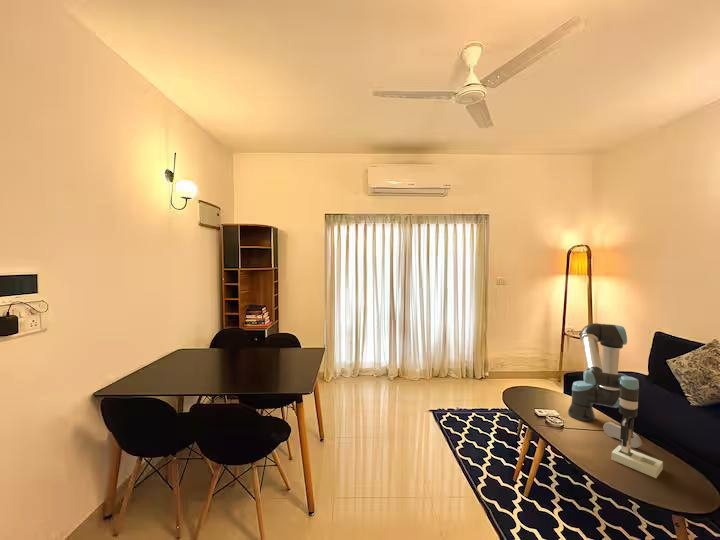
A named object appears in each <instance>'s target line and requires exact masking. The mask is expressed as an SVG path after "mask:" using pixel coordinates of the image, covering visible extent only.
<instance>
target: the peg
mask: <svg viewBox="0 0 720 540" xmlns="http://www.w3.org/2000/svg"><path fill="white" fill-rule="evenodd" d="M628 441H629V445H628V453H625V452H623V451H621V453H622V454H625V455H627V456H630V449H631V450H632V447H631V430H630V429H629V435H628Z"/></svg>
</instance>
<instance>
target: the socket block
mask: <svg viewBox="0 0 720 540" xmlns="http://www.w3.org/2000/svg"><path fill="white" fill-rule="evenodd" d="M621 445H622V444H621ZM621 445H620V444H619V445H618V446H617V447H615V449H613V450H612V451H611V454H610V455H611V461H613V462H616V463H619V464H620V465H621V464H622V465H623V466H625V467H628V468H631V469H633V470H635V471H637V472H640V473H643V474H645V475H647V476H649V477H652V478H654V479H657V478H658V477H659V475H660V474H661V472H662V471H663V468H664V461H663V460H661V459H660V460H659V459H657V458H655V457H651V456H649V455H647V454H644V453H641V452H639V451H636V450H633V449H631V451H630V456H627V455H625V454H622V453H621Z"/></svg>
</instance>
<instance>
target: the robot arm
mask: <svg viewBox="0 0 720 540" xmlns="http://www.w3.org/2000/svg"><path fill="white" fill-rule="evenodd" d="M579 340H580V343H582V349H583V355H584V360H585V362H584V363H585V368H586V369H585V370H583V374H582V376H583V380H576V381H573V383H572V386H571V404H570V405H569V408H568V410H567V411H568V412H567V414H568V416H569V417H571V418H572V419H575V420H578V421H579V422H580V421H582V422H588V423H592V422H595V421H596V415H595V411H594V409H593V405H598V406H605V407H608V408H615V409H617V408H618V412H619V414H621V415H622V416H621V421H620V427H621V437H620V439H622V441H621V451H623V452H625V453H628V445H629V441H628V435H629V429H630V430H631V438H633V436H632V435H633V432H634V425H635V424H634V422H635V418H637V417H638V408H639V389H640V385H639V384H640V383H639V379H638V378H635V377H633V376H628V375H626V374H624V373H621V372H620V373H619V362H620V350H621V349H623V348H624V346H625V345H627V344H628V336H627V331H626V329H625V327H624V326H622V325H618V324H617V325H616V324H610V323H609V324H608V323H599V322H598V323H596V322H593V323H590V324H587V325H586V326H584V327H583V328H582V329H581V330H580V333H579ZM598 343H599V345H601V347H602V355H601V357H600V353H599V352H600V351H599V346H598ZM631 450H632V448H631V449H630V451H631Z"/></svg>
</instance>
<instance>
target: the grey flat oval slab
mask: <svg viewBox="0 0 720 540" xmlns="http://www.w3.org/2000/svg"><path fill="white" fill-rule="evenodd" d="M602 429H603V431H604V433H605V434H606V435H607V436H608V437H610V438H615V439H617V440H619V441H621V442H622V439H620V437H621V425H618V424H616V423H614V422H612V421H611V422H610V421H608V422H605V423H604V424H603V426H602ZM632 436H633V438H631V449H632V448H633V449H637V448H641V446H642V439H641V438H640V436H639V435H638V433H636V432H634V431H633V435H632Z"/></svg>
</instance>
